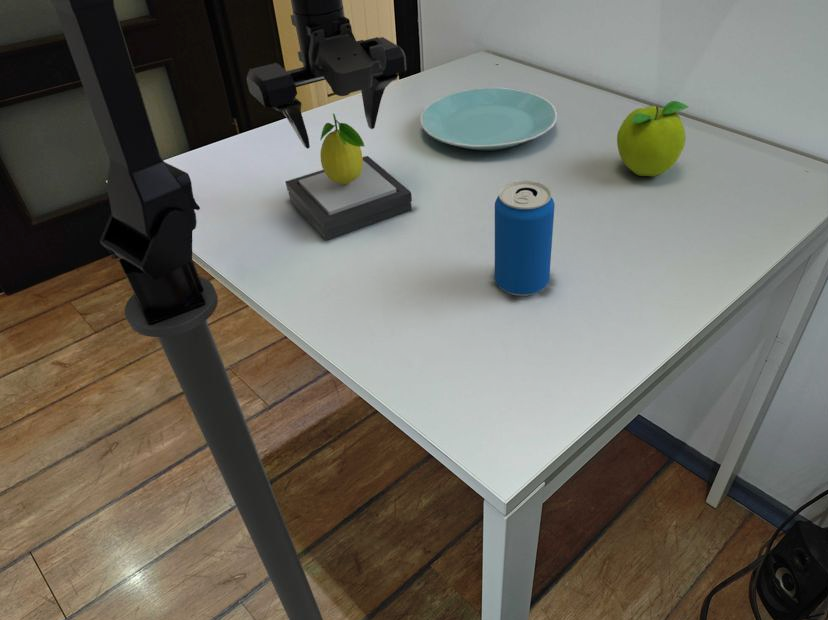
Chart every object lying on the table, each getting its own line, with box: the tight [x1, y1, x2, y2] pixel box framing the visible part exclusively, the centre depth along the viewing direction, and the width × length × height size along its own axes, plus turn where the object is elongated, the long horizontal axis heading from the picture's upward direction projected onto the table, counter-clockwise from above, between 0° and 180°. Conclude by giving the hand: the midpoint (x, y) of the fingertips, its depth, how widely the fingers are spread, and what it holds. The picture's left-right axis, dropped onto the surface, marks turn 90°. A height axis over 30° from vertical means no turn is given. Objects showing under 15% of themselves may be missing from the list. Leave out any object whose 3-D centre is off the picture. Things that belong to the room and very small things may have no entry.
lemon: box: [319, 113, 365, 185], centre depth 88 cm, size 7×6×10 cm
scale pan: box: [299, 161, 397, 216], centre depth 92 cm, size 10×10×2 cm
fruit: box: [616, 100, 689, 177], centre depth 95 cm, size 9×9×10 cm
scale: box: [285, 155, 413, 241], centre depth 92 cm, size 13×13×3 cm
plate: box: [419, 86, 558, 151], centre depth 108 cm, size 22×22×3 cm
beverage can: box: [494, 180, 556, 297], centre depth 75 cm, size 6×6×12 cm
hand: (339, 137), depth 87 cm, fingers open, 9 cm apart
